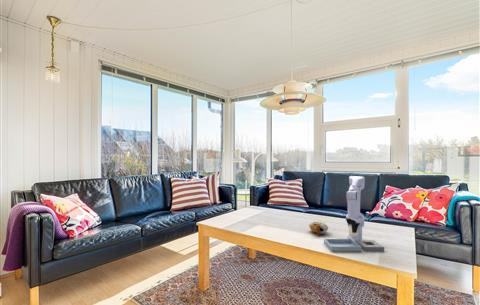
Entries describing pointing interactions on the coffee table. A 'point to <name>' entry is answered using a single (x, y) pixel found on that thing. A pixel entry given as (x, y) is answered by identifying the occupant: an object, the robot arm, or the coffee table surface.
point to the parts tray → (342, 245)
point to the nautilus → (318, 227)
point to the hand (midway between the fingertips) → (352, 231)
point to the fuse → (352, 232)
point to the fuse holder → (370, 245)
